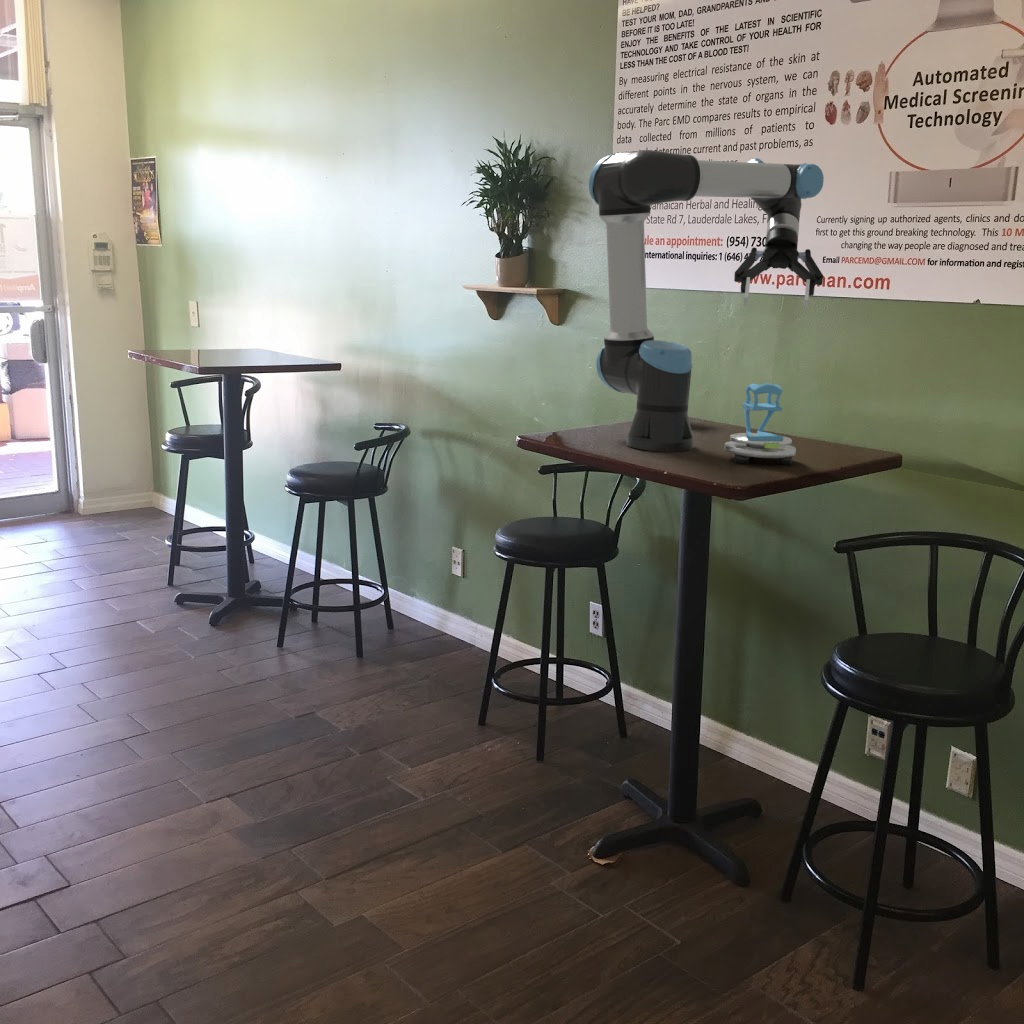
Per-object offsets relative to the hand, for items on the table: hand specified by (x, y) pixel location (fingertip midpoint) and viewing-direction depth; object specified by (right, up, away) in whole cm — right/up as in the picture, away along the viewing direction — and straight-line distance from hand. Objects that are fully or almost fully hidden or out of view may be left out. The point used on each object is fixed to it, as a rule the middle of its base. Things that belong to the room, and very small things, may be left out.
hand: (775, 303), depth 246 cm
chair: (-8, -33, -17) cm, 38 cm away
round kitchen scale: (-8, -37, -16) cm, 41 cm away
